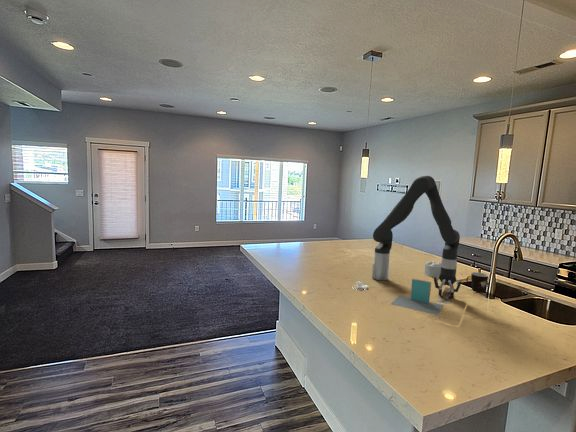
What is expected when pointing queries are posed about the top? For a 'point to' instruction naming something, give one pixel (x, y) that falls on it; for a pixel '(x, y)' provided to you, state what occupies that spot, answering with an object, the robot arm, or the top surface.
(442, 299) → the turner
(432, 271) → the lumpy-topped squat cylinder
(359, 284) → the teacup and saucer
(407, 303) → the slate mat
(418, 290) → the tile
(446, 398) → the top surface
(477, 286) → the coffee mug
